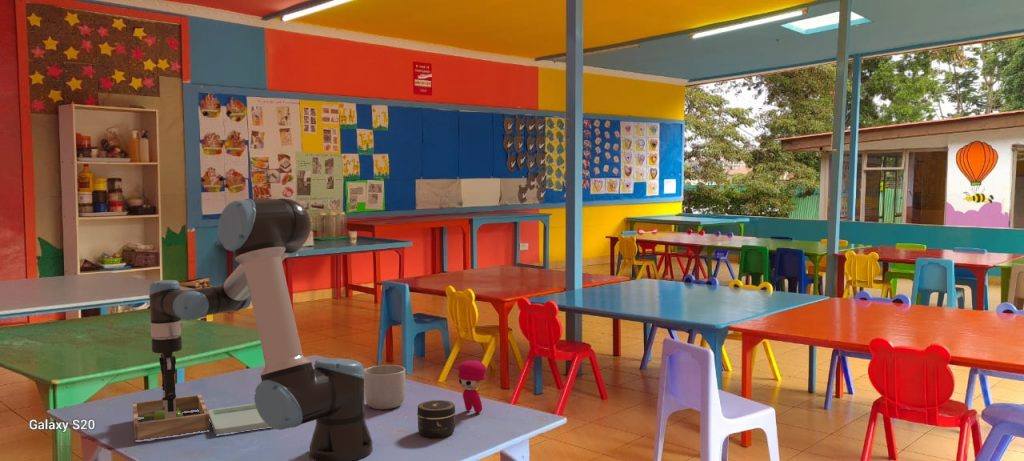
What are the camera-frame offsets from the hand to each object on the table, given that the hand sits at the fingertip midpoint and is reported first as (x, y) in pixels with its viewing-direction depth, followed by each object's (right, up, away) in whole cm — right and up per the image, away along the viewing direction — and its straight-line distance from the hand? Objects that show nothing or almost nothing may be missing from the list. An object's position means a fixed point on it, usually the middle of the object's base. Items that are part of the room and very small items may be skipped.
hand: (169, 418), depth 209 cm
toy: (+83, -1, +10) cm, 84 cm away
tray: (+21, -2, +4) cm, 21 cm away
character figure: (0, -2, -1) cm, 3 cm away
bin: (0, -2, 0) cm, 2 cm away
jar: (+74, -2, -8) cm, 75 cm away
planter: (+57, -1, +17) cm, 59 cm away
